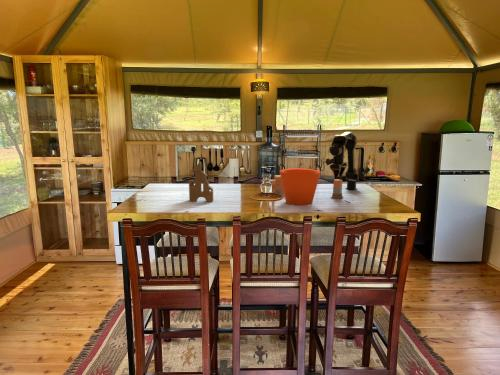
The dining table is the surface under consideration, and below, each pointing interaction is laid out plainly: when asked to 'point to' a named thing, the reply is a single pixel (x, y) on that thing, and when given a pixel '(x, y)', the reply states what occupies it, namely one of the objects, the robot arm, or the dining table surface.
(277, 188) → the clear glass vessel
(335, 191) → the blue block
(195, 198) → the wooden toy
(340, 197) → the walnut base
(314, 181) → the flowerpot
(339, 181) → the terracotta block
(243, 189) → the dining table surface
